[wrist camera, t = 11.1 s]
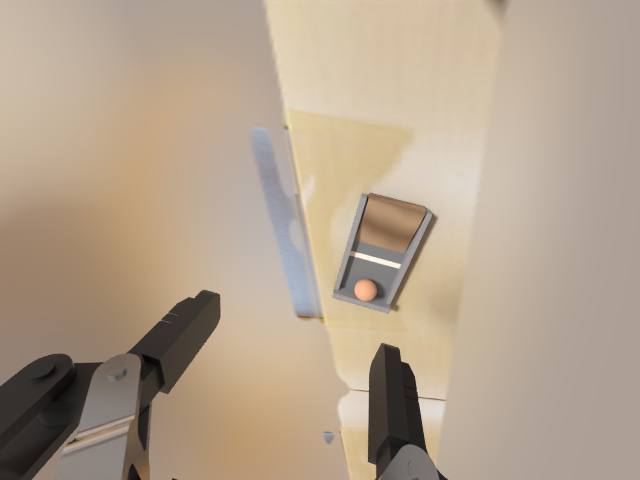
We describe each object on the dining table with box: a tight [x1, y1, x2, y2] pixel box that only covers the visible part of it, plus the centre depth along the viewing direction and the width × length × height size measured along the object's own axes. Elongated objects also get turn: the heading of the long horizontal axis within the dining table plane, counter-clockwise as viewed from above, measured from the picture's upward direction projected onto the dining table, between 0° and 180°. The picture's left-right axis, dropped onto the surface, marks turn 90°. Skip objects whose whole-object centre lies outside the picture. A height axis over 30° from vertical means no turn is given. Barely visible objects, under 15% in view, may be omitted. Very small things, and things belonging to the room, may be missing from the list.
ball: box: [354, 279, 377, 301], centre depth 44 cm, size 4×4×4 cm
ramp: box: [355, 193, 426, 253], centre depth 39 cm, size 9×9×3 cm
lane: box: [332, 193, 432, 314], centre depth 42 cm, size 20×11×3 cm, turn 169°
